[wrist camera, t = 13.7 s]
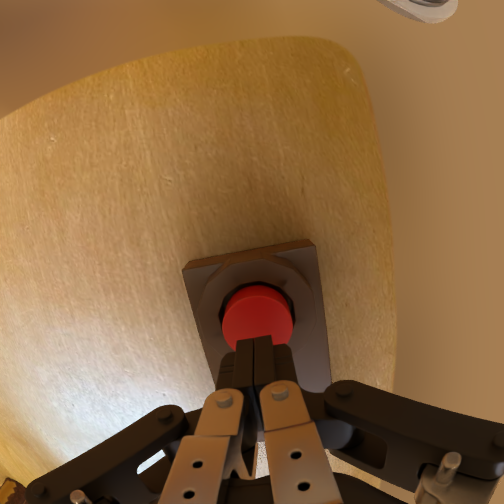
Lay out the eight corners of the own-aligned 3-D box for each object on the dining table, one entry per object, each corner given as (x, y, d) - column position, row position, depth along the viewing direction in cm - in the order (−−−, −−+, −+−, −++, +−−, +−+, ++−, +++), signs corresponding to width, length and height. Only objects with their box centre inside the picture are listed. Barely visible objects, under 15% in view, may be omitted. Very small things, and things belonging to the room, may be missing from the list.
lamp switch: (218, 291, 17) (214, 302, 15) (283, 279, 16) (287, 289, 15) (232, 347, 17) (230, 363, 16) (293, 336, 17) (297, 351, 15)
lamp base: (187, 257, 20) (172, 275, 16) (308, 234, 20) (321, 246, 16) (237, 427, 23) (234, 460, 19) (329, 411, 23) (339, 444, 19)
